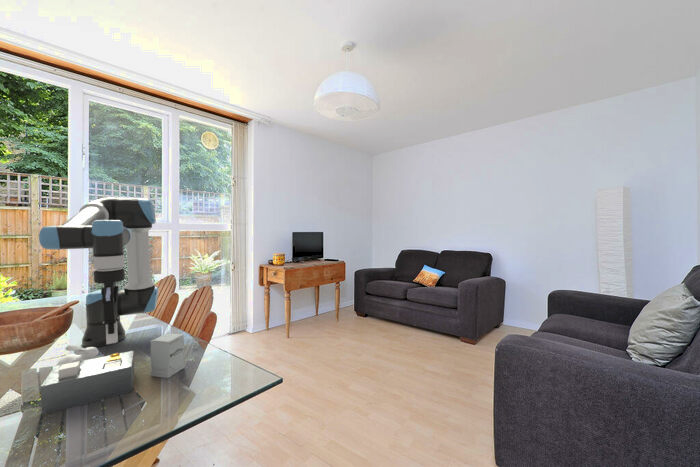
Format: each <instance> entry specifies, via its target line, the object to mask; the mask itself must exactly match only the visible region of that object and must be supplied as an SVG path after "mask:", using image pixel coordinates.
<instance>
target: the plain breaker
mask: <svg viewBox="0 0 700 467" xmlns="http://www.w3.org/2000/svg"><path fill="white" fill-rule="evenodd" d="M79 373H80V361H78V362H73V363H67V364H62V365H61V367H60V368H59V370H58V374H59V379H61V378H65V377H70V376H75V375H79Z"/></svg>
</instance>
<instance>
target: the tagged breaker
mask: <svg viewBox="0 0 700 467" xmlns="http://www.w3.org/2000/svg"><path fill="white" fill-rule="evenodd" d="M117 366H121V361H118V362H113V363H108V364H105V366H104V369H107V368H112V367H117Z"/></svg>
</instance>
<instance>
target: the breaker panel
mask: <svg viewBox="0 0 700 467" xmlns="http://www.w3.org/2000/svg"><path fill="white" fill-rule="evenodd" d="M118 361H121V366H117V367H112V368H107V369H104V366H105V364H108V363H113V362H118ZM73 362H78V361H73ZM73 362H71V363H73ZM60 367H61V365H58V366H56V365H55V366H54V367H53V368H52V370H51V371H50V373H49V374H48V375H47V376H46V379H45V380H44V381H43V382H42V384H41V385H40V399H41V400H40V402H41V404H40V406H41V407H40V408H41V415H42V416H44V415H47V414H51V413H54V412H58V411H62V410H66V409H70V408H74V407H78V406H81V405H82V406H83V405H86V404H90V403H93V402H97V401H102V400H104V399H109V398H113V397H117V396H120V395H124V394H128V393H132V392H133V386H134V379H135V351H134V350H130V351H125V352H115V353H111V354H110V355H105V356H100V357H96V358H95V357H94V359H89V360H84V361H80V373H79V375H75V376H70V377H65V378H61V379H59V374H58V370H59V368H60Z"/></svg>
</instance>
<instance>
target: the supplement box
mask: <svg viewBox="0 0 700 467" xmlns="http://www.w3.org/2000/svg"><path fill="white" fill-rule="evenodd" d="M184 342H185V341H184V334H182V333H169V332H168V333H165V334H162V335H160V336H158V337H156V338H153V339H151V340H150V376H151V377H154V378H155V377H157V378H165V379H169V378H171V377H172V376H173V375H175V374H176V373H179V372H180V371H182V370H183V369H184V368H185V346H184V345H185V343H184Z"/></svg>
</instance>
